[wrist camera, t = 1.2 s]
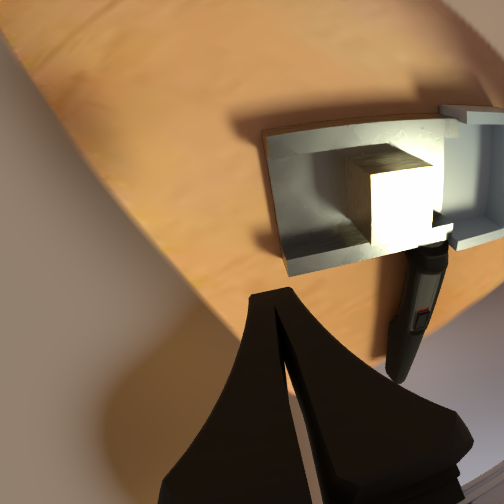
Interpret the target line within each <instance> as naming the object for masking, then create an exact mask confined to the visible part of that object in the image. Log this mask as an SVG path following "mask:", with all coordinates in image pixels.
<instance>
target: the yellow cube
mask: <svg viewBox="0 0 504 504" xmlns="http://www.w3.org/2000/svg"><path fill="white" fill-rule="evenodd" d="M345 166H346V179H347V195H348V214H349V220H350V221H351V222H352V223H353V224H354V226H355V227H356V228H357V229H358V230H359V231H360V233H361V234H362V235H363V236H364V237H365V239H366V240H367V241H368V242H369V243H370V245H371V246H373V245H378V244H382V243H386V242H391V241H395V240H399V239H404V238H408V237H412V236H417V235H421V234H425V233H429V232H431V224H432V213H433V199H434V180H435V166H434V165H432V164H430V163H428V162H426V161H424V160H422V159H420V158H418V157H416V156H414V155H412V154H410V153H407V152H405V151H403V150H400V151H391V152H382V153H374V154H367V155H359V156H352V157H345Z"/></svg>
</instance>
